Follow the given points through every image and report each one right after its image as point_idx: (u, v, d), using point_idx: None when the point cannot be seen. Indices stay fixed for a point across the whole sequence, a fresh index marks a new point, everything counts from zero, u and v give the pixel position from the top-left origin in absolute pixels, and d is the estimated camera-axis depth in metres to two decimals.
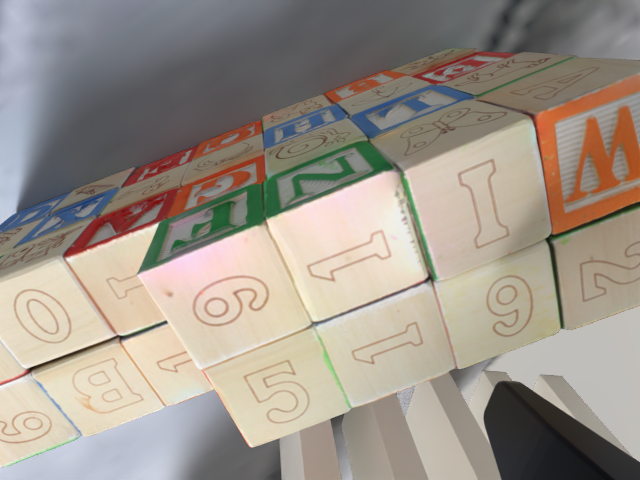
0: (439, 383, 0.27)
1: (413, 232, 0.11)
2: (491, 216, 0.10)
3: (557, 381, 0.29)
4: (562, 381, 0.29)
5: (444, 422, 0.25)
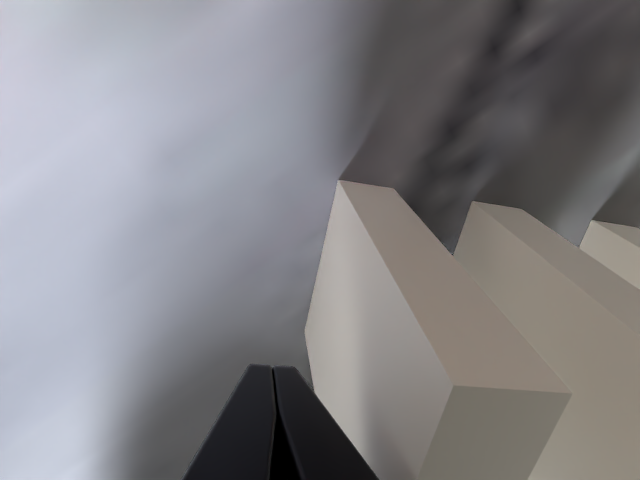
0: None
1: None
2: None
3: None
4: None
5: None
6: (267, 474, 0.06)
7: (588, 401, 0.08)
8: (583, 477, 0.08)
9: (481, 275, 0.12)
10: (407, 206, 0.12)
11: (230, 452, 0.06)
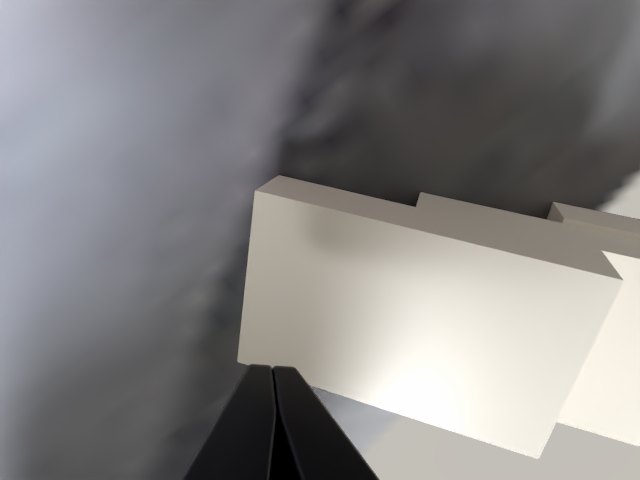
0: (616, 223, 0.12)
1: None
2: None
3: None
4: None
5: None
6: (267, 474, 0.06)
7: None
8: None
9: None
10: (332, 188, 0.12)
11: (230, 452, 0.06)
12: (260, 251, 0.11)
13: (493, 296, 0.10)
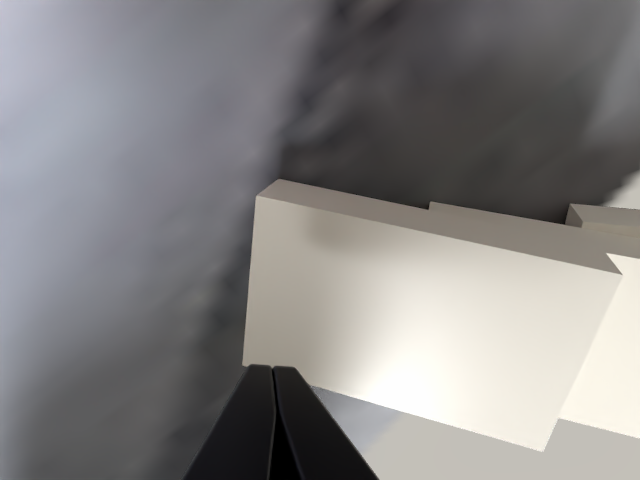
0: (636, 219, 0.12)
1: None
2: None
3: None
4: None
5: None
6: (267, 474, 0.06)
7: None
8: None
9: None
10: (332, 190, 0.12)
11: (230, 452, 0.06)
12: (263, 255, 0.11)
13: (495, 294, 0.10)
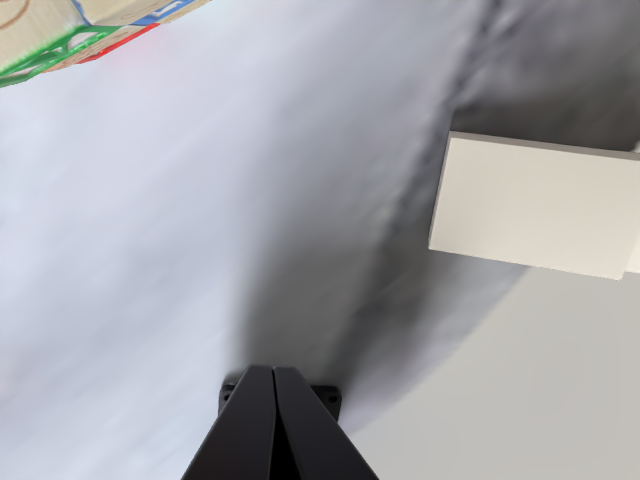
0: None
1: None
2: None
3: None
4: None
5: None
6: (267, 474, 0.06)
7: None
8: None
9: None
10: (485, 135, 0.20)
11: (230, 452, 0.06)
12: (451, 174, 0.19)
13: (594, 183, 0.18)
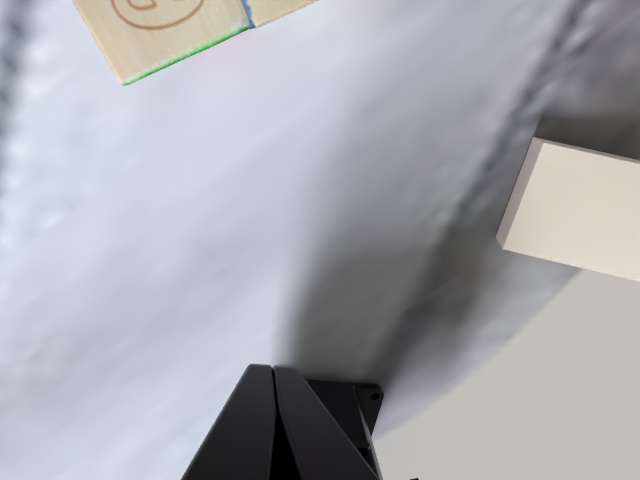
0: None
1: None
2: None
3: None
4: None
5: None
6: (267, 474, 0.06)
7: None
8: None
9: None
10: (566, 144, 0.21)
11: (230, 452, 0.06)
12: (537, 178, 0.20)
13: None
